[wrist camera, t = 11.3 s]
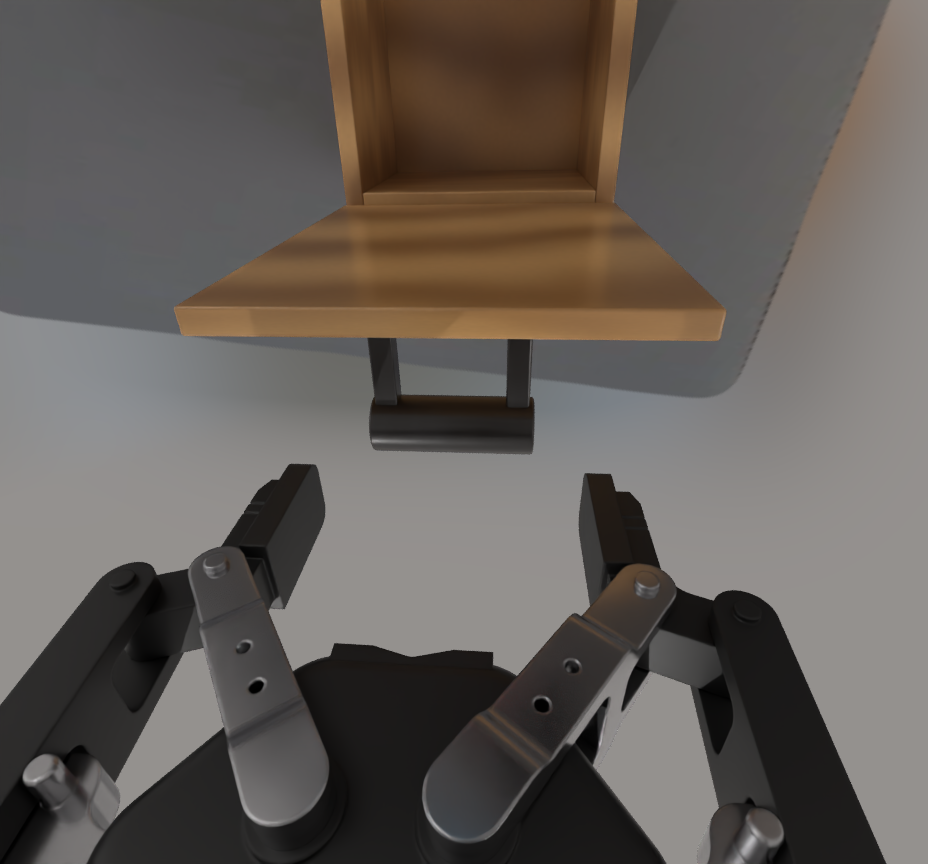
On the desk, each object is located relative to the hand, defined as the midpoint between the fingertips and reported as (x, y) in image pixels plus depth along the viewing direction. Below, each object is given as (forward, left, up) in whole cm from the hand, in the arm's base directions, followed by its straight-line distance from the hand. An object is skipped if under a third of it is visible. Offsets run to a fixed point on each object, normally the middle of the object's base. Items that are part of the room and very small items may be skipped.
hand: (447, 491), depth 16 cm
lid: (-2, -5, -8) cm, 9 cm away
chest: (-4, -12, -26) cm, 29 cm away
